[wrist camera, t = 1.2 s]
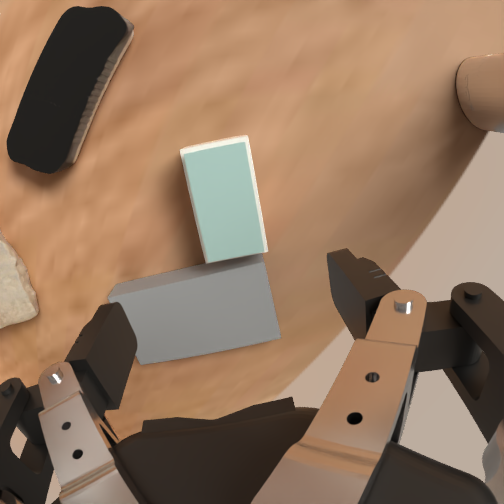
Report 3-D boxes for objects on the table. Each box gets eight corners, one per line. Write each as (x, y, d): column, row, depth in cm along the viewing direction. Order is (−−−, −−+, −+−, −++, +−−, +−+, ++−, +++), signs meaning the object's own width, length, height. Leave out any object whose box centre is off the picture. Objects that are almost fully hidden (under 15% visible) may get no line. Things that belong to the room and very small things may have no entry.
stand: (260, 249, 33) (264, 261, 30) (277, 322, 36) (281, 338, 33) (115, 284, 33) (107, 297, 30) (145, 348, 36) (140, 364, 34)
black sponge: (76, 175, 29) (59, 182, 25) (17, 147, 27) (-2, 151, 23) (146, 27, 24) (137, 15, 20) (80, 7, 22) (66, -3, 18)
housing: (244, 134, 29) (248, 136, 24) (262, 235, 32) (269, 255, 28) (186, 146, 29) (178, 150, 24) (208, 245, 32) (205, 267, 28)
